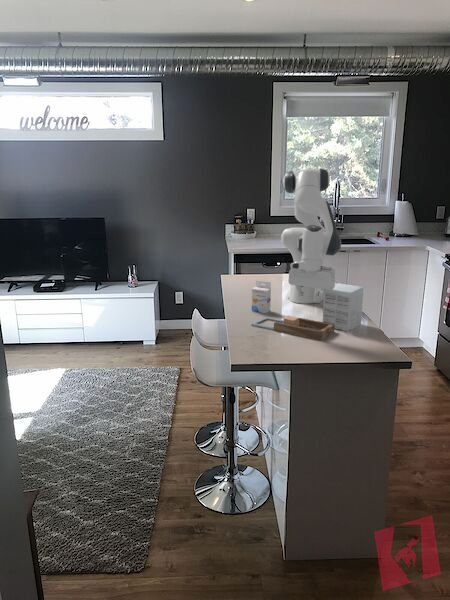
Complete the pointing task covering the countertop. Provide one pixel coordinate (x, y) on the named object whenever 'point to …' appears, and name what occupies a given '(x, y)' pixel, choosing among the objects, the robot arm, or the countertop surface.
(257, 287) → the ink box
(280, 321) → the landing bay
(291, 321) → the terracotta block
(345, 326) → the supplement box
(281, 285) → the countertop surface
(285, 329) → the walnut cubby
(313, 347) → the countertop surface
